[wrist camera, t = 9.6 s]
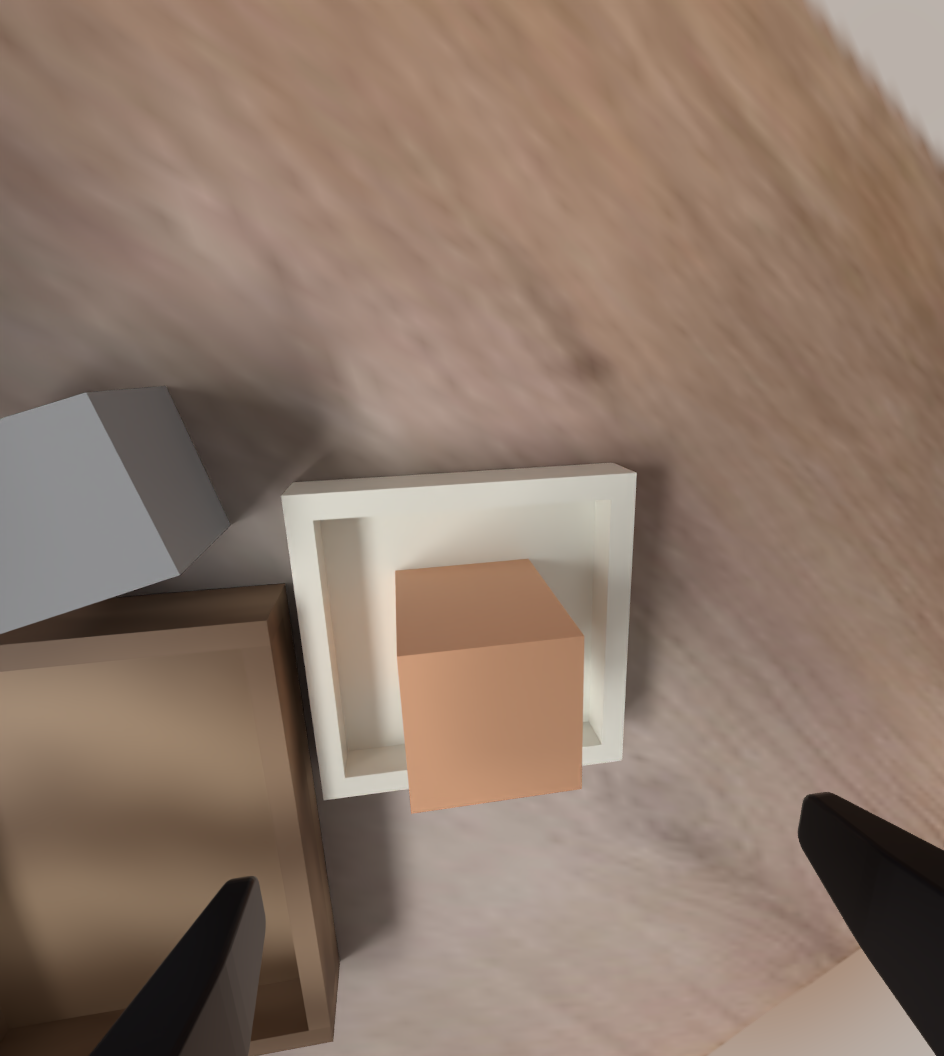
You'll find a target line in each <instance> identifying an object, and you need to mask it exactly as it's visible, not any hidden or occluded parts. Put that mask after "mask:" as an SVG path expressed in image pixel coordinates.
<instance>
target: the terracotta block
mask: <svg viewBox="0 0 944 1056" xmlns="http://www.w3.org/2000/svg"><path fill="white" fill-rule="evenodd" d="M395 593H396V644H397V665H398V676H399V686H400V697H401V708H402V719H403V729H404V740H405V751H406V762H407V772H408V783H409V794H410V805H411V814H412V813H419V812H426V811H433V810H440V809H447V808H454V807H461V806H467V805H474V804H481V803H488V802H495V801H502V800H509V799H516V798H522V797H529V796H536V795H543V794H550V793H557V792H564V791H571V790H577V789H582V741H583V686H584V635H583V633H582V632H581V631H580V629H579V628H578V626H577V625H576V624H575V622H574V621H573V620H572V618H571V617H570V615H569V614H568V613H567V611H566V610H565V608H564V607H563V606H562V604H561V603H560V602H559V600H558V599H557V597H556V596H555V595H554V593H553V592H552V590H551V589H550V588H549V586H548V585H547V584H546V582H545V581H544V579H543V578H542V577H541V575H540V574H539V572H538V571H537V570H536V568H535V567H534V566H533V564H532V563H531V561H530V560H529V559H519V560H508V561H497V562H486V563H475V564H464V565H453V566H442V567H431V568H420V569H408V570H397V571H395Z"/></svg>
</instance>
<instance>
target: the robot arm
mask: <svg viewBox="0 0 944 1056" xmlns="http://www.w3.org/2000/svg"><path fill="white" fill-rule="evenodd" d="M798 838H799V842H800V845H801V847H802V849H803V851H804V853H805V855H806V856H807V858H808V860H809V861H810V863H811V865H812V866H813V868H814V870H815V871H816V873H817V875H818V877H819V878H820V880H821V882H822V883H823V885H824V887H825V888H826V890H827V892H828V893H829V895H830V897H831V899H832V900H833V902H834V904H835V905H836V907H837V909H838V910H839V912H840V914H841V916H842V917H843V919H844V921H845V922H846V924H847V926H848V927H849V929H850V931H851V932H852V934H853V936H854V937H855V939H856V940H857V942H858V944H859V945H860V947H861V948H862V950H863V951H864V953H865V954H866V956H867V957H868V959H869V960H870V962H871V963H872V964H873V966H874V967H875V969H876V970H877V972H878V973H879V975H880V976H881V977H882V979H883V980H884V982H885V983H886V985H887V986H888V987H889V989H890V990H891V992H892V993H893V995H894V996H895V997H896V999H897V1000H898V1002H899V1003H900V1005H901V1006H902V1008H903V1009H904V1010H905V1012H906V1013H907V1015H908V1016H909V1017H910V1019H911V1020H912V1022H913V1023H914V1025H915V1026H916V1028H917V1029H918V1030H919V1032H920V1033H921V1035H922V1036H923V1038H924V1039H925V1040H926V1042H927V1043H928V1045H929V1046H930V1047H931V1049H932V1050H933V1052H934V1053H935V1055H936V1056H944V850H942V849H940V848H938V847H936V846H934V845H932V844H930V843H928V842H926V841H924V840H922V839H920V838H918V837H917V836H915V835H913V834H911V833H909V832H907V831H905V830H903V829H901V828H899V827H897V826H895V825H893V824H891V823H890V822H888V821H886V820H884V819H882V818H880V817H878V816H876V815H874V814H872V813H870V812H868V811H866V810H864V809H862V808H861V807H859V806H857V805H855V804H853V803H851V802H849V801H847V800H845V799H843V798H841V797H839V796H837V795H835V794H833V793H830V792H823V793H816V794H809V795H807V796H806V797H805V798H804V800H803V804H802V809H801V815H800V821H799V827H798ZM265 930H266V917H265V911H264V905H263V900H262V895H261V890H260V885H259V881H258V879H257V877H255V876H246V877H239V878H233V879H230V880H228V881H227V882H226V883H225V884H224V885H223V886H222V887H221V888H220V890H219V891H218V892H217V894H216V895H215V896H214V897H213V899H212V900H211V901H210V902H209V904H208V905H207V906H206V907H205V909H204V910H203V911H202V913H201V914H200V915H199V916H198V918H197V919H196V920H195V921H194V923H193V924H192V925H191V927H190V928H189V929H188V930H187V932H186V933H185V934H184V935H183V937H182V938H181V939H180V940H179V942H178V943H177V944H176V946H175V947H174V948H173V949H172V951H171V952H170V953H169V954H168V956H167V957H166V958H165V959H164V961H163V962H162V963H161V965H160V966H159V967H158V968H157V970H156V971H155V972H154V973H153V975H152V976H151V977H150V978H149V980H148V981H147V982H146V984H145V985H144V986H143V987H142V989H141V990H140V991H139V992H138V994H137V995H136V996H135V997H134V999H133V1000H132V1001H131V1003H130V1004H129V1005H128V1006H127V1008H126V1009H125V1010H124V1011H123V1013H122V1014H121V1015H120V1016H119V1018H118V1019H117V1020H116V1022H115V1023H114V1024H113V1025H112V1027H111V1028H110V1029H109V1030H108V1032H107V1033H106V1034H105V1035H104V1037H103V1038H102V1039H101V1041H100V1042H99V1043H98V1044H97V1046H96V1047H95V1048H94V1049H93V1051H92V1052H91V1053H90V1054H89V1056H248V1054H249V1047H250V1041H251V1034H252V1026H253V1019H254V1012H255V1005H256V997H257V990H258V983H259V975H260V968H261V961H262V953H263V946H264V939H265Z"/></svg>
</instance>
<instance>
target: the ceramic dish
mask: <svg viewBox="0 0 944 1056" xmlns="http://www.w3.org/2000/svg"><path fill="white" fill-rule="evenodd" d="M636 477H637V473H636V472H634V471H631V470H629V469H627V468H624V467H622V466H620V465H617V464H615V463H598V464H581V465H565V466H549V467H533V468H517V469H501V470H485V471H469V472H452V473H436V474H420V475H404V476H388V477H372V478H356V479H340V480H323V481H307V482H293V483H292V484H291V485H290V486H289V487H288V488H287V490H286V491H285V492H284V493H283V494H282V495H281V499H282V506H283V514H284V521H285V528H286V535H287V542H288V549H289V556H290V564H291V571H292V578H293V585H294V592H295V599H296V607H297V614H298V621H299V628H300V635H301V642H302V650H303V657H304V664H305V671H306V678H307V685H308V692H309V700H310V707H311V714H312V721H313V728H314V735H315V743H316V750H317V757H318V764H319V771H320V778H321V786H322V793H323V800H330V799H338V798H345V797H352V796H360V795H367V794H375V793H382V792H390V791H397V790H405V789H409V783H408V772H407V762H406V751H405V740H404V729H403V719H402V708H401V697H400V686H399V676H398V665H397V644H396V593H395V571H397V570H408V569H420V568H431V567H442V566H453V565H464V564H475V563H486V562H497V561H508V560H519V559H529V560H530V561H531V563H532V564H533V566H534V567H535V568H536V570H537V571H538V572H539V574H540V575H541V577H542V578H543V579H544V581H545V582H546V584H547V585H548V586H549V588H550V589H551V590H552V592H553V593H554V595H555V596H556V597H557V599H558V600H559V602H560V603H561V604H562V606H563V607H564V608H565V610H566V611H567V613H568V614H569V615H570V617H571V618H572V620H573V621H574V622H575V624H576V625H577V626H578V628H579V629H580V631H581V632H582V633H583V635H584V686H583V741H582V766H584V765H591V764H599V763H606V762H614V761H621V760H622V750H623V730H624V711H625V691H626V672H627V652H628V633H629V613H630V594H631V574H632V555H633V536H634V516H635V497H636Z"/></svg>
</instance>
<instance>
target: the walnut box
mask: <svg viewBox="0 0 944 1056" xmlns="http://www.w3.org/2000/svg"><path fill="white" fill-rule="evenodd" d="M246 876H255V877H257V879H258V881H259V885H260V890H261V895H262V900H263V905H264V911H265V917H266V930H265V939H264V946H263V953H262V961H261V968H260V975H259V983H258V990H257V997H256V1005H255V1012H254V1019H253V1026H252V1034H251V1041H250V1047H249V1054H248V1056H258V1055H263V1054H268V1053H274V1052H279V1051H284V1050H290V1049H295V1048H300V1047H306V1046H311V1045H316V1044H321V1043H327V1042H332V1041H333V1036H334V1025H335V1013H336V1002H337V990H338V978H339V967H340V961H339V954H338V947H337V940H336V933H335V927H334V920H333V913H332V906H331V899H330V892H329V885H328V878H327V871H326V864H325V857H324V850H323V843H322V837H321V830H320V823H319V816H318V809H317V802H316V795H315V788H314V781H313V774H312V767H311V760H310V753H309V747H308V740H307V733H306V726H305V719H304V712H303V705H302V698H301V691H300V684H299V677H298V670H297V663H296V657H295V650H294V643H293V636H292V629H291V622H290V615H289V608H288V601H287V594H286V587H285V583H283V584H271V585H260V586H248V587H236V588H224V589H212V590H200V591H188V592H177V593H165V594H153V595H141V596H129V597H117V598H109V599H106V600H103V601H100V602H97V603H94V604H90V605H87V606H84V607H81V608H78V609H75V610H72V611H69V612H66V613H63V614H60V615H57V616H54V617H51V618H48V619H45V620H42V621H39V622H36V623H33V624H30V625H27V626H23V627H20V628H17V629H14V630H11V631H8V632H5V633H2V634H0V1056H89V1054H90V1053H91V1052H92V1051H93V1049H94V1048H95V1047H96V1046H97V1044H98V1043H99V1042H100V1041H101V1039H102V1038H103V1037H104V1035H105V1034H106V1033H107V1032H108V1030H109V1029H110V1028H111V1027H112V1025H113V1024H114V1023H115V1022H116V1020H117V1019H118V1018H119V1016H120V1015H121V1014H122V1013H123V1011H124V1010H125V1009H126V1008H127V1006H128V1005H129V1004H130V1003H131V1001H132V1000H133V999H134V997H135V996H136V995H137V994H138V992H139V991H140V990H141V989H142V987H143V986H144V985H145V984H146V982H147V981H148V980H149V978H150V977H151V976H152V975H153V973H154V972H155V971H156V970H157V968H158V967H159V966H160V965H161V963H162V962H163V961H164V959H165V958H166V957H167V956H168V954H169V953H170V952H171V951H172V949H173V948H174V947H175V946H176V944H177V943H178V942H179V940H180V939H181V938H182V937H183V935H184V934H185V933H186V932H187V930H188V929H189V928H190V927H191V925H192V924H193V923H194V921H195V920H196V919H197V918H198V916H199V915H200V914H201V913H202V911H203V910H204V909H205V907H206V906H207V905H208V904H209V902H210V901H211V900H212V899H213V897H214V896H215V895H216V894H217V892H218V891H219V890H220V888H221V887H222V886H223V885H224V884H225V883H226V882H227V881H228V880H230V879H233V878H239V877H246Z"/></svg>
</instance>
